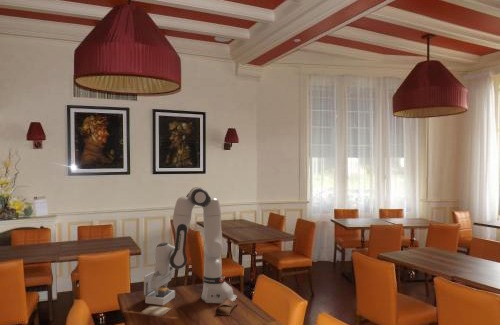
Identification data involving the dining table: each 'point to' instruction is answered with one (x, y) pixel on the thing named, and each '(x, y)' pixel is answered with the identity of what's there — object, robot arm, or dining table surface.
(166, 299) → the case
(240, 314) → the dining table surface
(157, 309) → the birch board
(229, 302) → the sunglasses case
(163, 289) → the block
